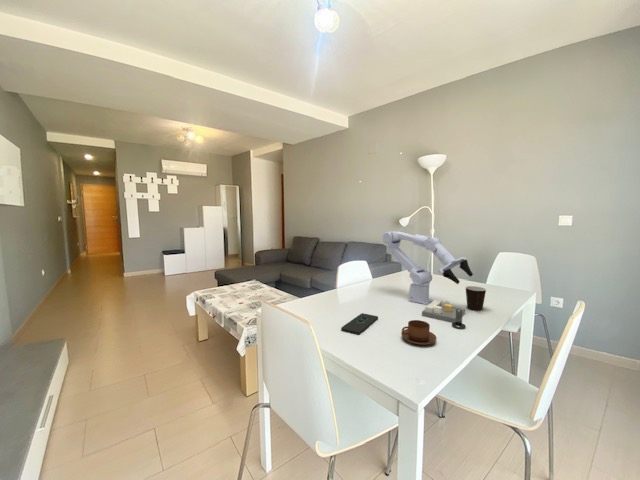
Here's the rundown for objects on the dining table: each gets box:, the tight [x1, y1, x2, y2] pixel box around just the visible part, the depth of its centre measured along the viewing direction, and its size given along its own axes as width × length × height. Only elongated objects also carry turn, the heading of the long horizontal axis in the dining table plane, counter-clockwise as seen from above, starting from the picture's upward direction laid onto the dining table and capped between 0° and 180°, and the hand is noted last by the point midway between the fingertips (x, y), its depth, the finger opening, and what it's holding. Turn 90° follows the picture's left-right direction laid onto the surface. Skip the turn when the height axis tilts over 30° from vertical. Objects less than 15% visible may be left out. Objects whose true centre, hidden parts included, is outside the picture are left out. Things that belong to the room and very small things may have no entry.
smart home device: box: [340, 312, 379, 336], centre depth 116 cm, size 8×2×20 cm
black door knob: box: [451, 309, 466, 330], centre depth 112 cm, size 5×5×7 cm
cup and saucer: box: [401, 319, 437, 346], centre depth 101 cm, size 12×12×6 cm
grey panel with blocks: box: [421, 299, 466, 324], centre depth 126 cm, size 14×16×5 cm
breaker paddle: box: [444, 304, 454, 312], centre depth 125 cm, size 3×2×3 cm, turn 50°
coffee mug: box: [465, 285, 487, 312], centre depth 132 cm, size 12×9×10 cm
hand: (465, 279), depth 127 cm, fingers open, 7 cm apart
